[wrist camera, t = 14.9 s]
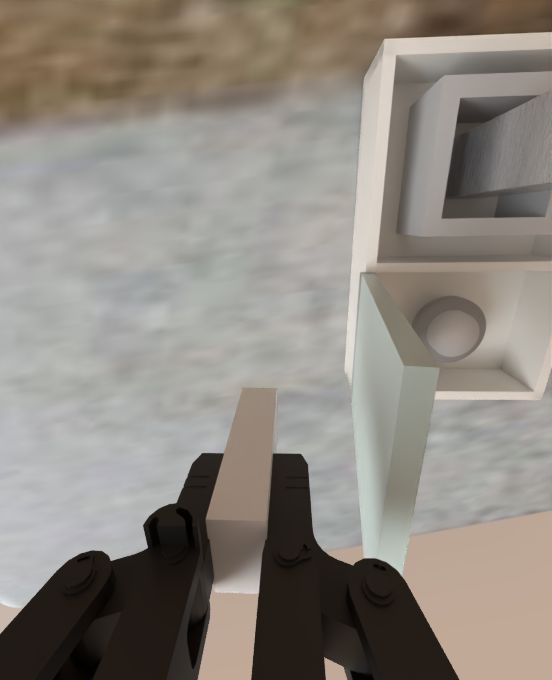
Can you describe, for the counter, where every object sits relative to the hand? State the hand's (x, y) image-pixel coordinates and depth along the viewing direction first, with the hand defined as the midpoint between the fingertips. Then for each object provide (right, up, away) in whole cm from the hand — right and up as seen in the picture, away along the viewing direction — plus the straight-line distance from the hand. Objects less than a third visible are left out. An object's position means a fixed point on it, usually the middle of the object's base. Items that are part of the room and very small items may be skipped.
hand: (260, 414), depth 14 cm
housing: (+14, +11, +11) cm, 21 cm away
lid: (+6, +1, +2) cm, 6 cm away
